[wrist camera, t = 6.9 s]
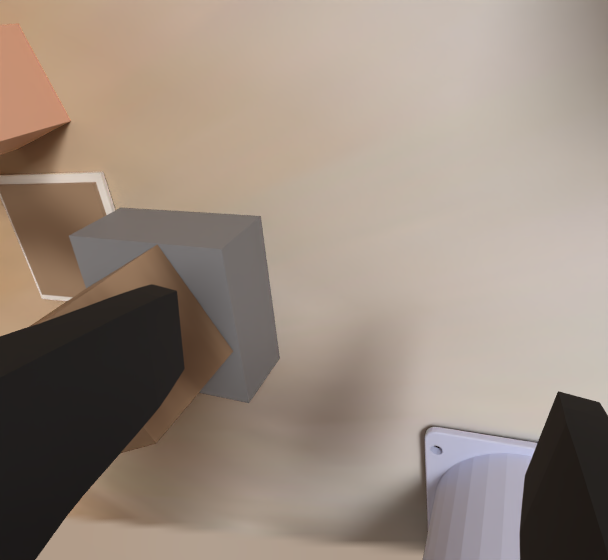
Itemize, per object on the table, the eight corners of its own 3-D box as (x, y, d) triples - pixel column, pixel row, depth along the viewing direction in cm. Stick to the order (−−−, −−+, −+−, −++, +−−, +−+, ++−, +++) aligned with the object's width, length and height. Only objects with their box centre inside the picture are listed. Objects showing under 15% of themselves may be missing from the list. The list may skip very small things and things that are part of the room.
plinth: (282, 353, 24) (248, 403, 21) (159, 333, 27) (114, 375, 24) (263, 213, 21) (221, 249, 18) (125, 205, 23) (68, 235, 21)
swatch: (145, 306, 25) (140, 310, 25) (45, 296, 28) (39, 300, 28) (103, 171, 22) (96, 174, 22) (-5, 175, 25) (-12, 177, 25)
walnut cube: (233, 351, 20) (156, 443, 16) (155, 380, 23) (73, 466, 19) (157, 244, 19) (53, 314, 15) (85, 289, 22) (-19, 359, 18)
